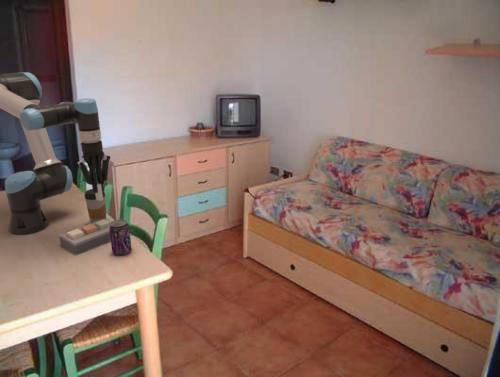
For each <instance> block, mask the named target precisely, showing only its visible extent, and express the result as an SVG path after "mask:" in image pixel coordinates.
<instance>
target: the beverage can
mask: <svg viewBox="0 0 500 377" xmlns="http://www.w3.org/2000/svg"><path fill="white" fill-rule="evenodd" d="M130 230H131V229H130V225H129V223H128V221H127V220H126V219H120V218H119V219H115V220H112V221H110V227H109V232H110V239H111V242H110V244H111V245H110V246H111V252H112V254H114V255H118V256H123V255H126V254H128V253H130V252H131V251H132V240H131V239H132V238H131V232H130Z"/></svg>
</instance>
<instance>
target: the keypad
mask: <svg viewBox="0 0 500 377" xmlns="http://www.w3.org/2000/svg"><path fill="white" fill-rule="evenodd" d="M100 221H101V220H100ZM97 222H98V221H97ZM90 224H93V225H94V226H95V222H94V223H91V222H90V223H89V224H87V225H90ZM87 225H83V226H80V227H78V228H75V229H79V230H81V227H84V226H87ZM75 229H72V230H75ZM97 229H98V228H97ZM72 230H69V231H65V232H63V233H61V234H58V237H59V242H60V246H61V247H63V248H64V249H66V250H67V251H69V252H71V253H72V254H74V255H75V256H77V255H80V254H82V253H85V252H88V251H90V250H93V249H95V248H97V247H101V246H102V245H105V244H108V243H111V239H110V232H109V227H108V228H105V229H102V230H100V229H98V231H97V232H94V233H91V234H88V235H86V234H84V236H83V237H80V238H78V239H75V240H72V239H70V238H68V236H67V232H70V231H72ZM81 231H82V230H81Z"/></svg>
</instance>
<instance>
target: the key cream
mask: <svg viewBox="0 0 500 377" xmlns="http://www.w3.org/2000/svg"><path fill="white" fill-rule="evenodd" d="M69 231H70V232H68V231H66V232H67V236H68V238H70V239H72V240H75V239H78V238H80V237H83V236H84V232H83V231H81V230H79V229H77V228H75V230H74V229H72V231H71V230H69Z"/></svg>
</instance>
